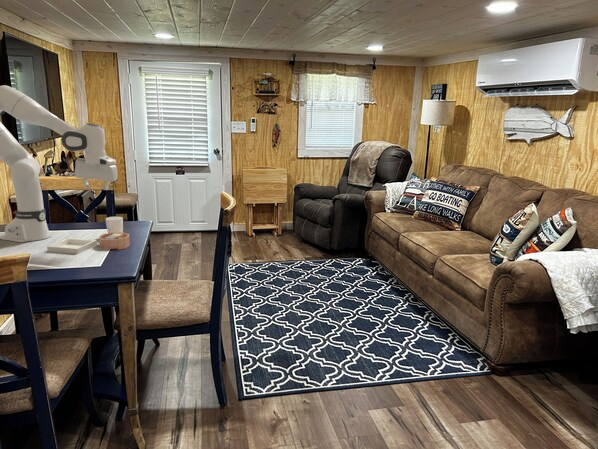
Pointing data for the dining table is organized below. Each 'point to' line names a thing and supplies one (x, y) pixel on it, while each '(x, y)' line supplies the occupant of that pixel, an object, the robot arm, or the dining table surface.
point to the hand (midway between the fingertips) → (96, 188)
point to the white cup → (114, 224)
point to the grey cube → (111, 237)
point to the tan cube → (118, 235)
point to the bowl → (114, 241)
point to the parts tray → (72, 245)
